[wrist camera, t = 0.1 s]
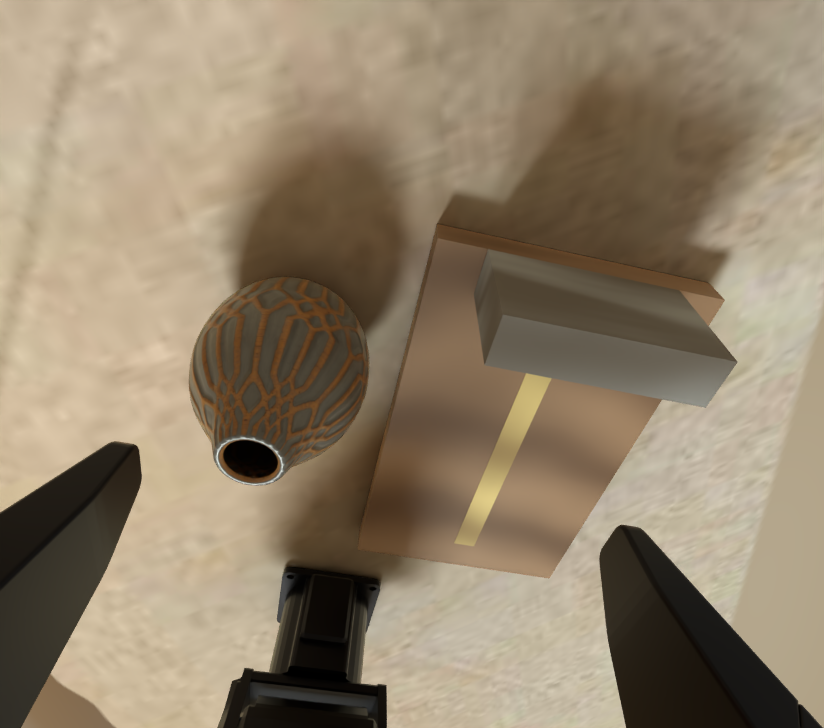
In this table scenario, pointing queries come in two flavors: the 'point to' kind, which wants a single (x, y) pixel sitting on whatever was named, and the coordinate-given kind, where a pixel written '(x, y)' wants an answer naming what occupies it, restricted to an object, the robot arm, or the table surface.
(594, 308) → the wooden board with block
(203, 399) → the vase
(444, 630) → the table surface
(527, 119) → the table surface
